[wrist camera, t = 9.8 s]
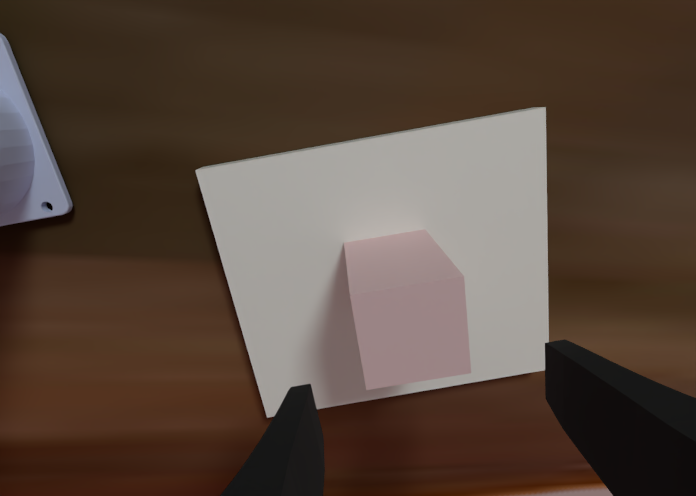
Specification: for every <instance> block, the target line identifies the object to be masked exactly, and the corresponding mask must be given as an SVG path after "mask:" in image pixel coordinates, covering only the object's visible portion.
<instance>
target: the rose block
mask: <svg viewBox="0 0 696 496" xmlns="http://www.w3.org/2000/svg"><path fill="white" fill-rule="evenodd" d="M344 248H345V257H346V266H347V275H348V284H349V293H350V299H351V305H352V311H353V316H354V322H355V328H356V334H357V339H358V345H359V351H360V356H361V362H362V368H363V374H364V379H365V385H366V390H371V389H377V388H383V387H389V386H395V385H401V384H407V383H414V382H420V381H426V380H432V379H438V378H444V377H450V376H457V375H463V374H469V373H471V364H470V350H469V336H468V323H467V309H466V295H465V282H464V275H463V274H462V273H461V272H460V271H459V269H458V268H457V267H456V266H455V265H454V263H453V262H452V261H451V260H450V259H449V257H448V256H447V255H446V254H445V253H444V251H443V250H442V249H441V248H440V246H439V245H438V244H437V243H436V242H435V240H434V239H433V238H432V237H431V236H430V234H429V233H428V232H427V231H426V230H425V229H423V230H417V231H411V232H405V233H399V234H393V235H387V236H381V237H375V238H369V239H363V240H357V241H351V242H345V243H344Z"/></svg>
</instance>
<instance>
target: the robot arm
mask: <svg viewBox="0 0 696 496" xmlns="http://www.w3.org/2000/svg"><path fill="white" fill-rule="evenodd" d="M47 202H49V203H51V205H52V207H53V210H50V209H48V207H47V204H46V203H47ZM72 207H73V205H72V201H71V198H70V196H69V193H68V191H67V188H66V186H65V183H64V181H63V178H62V176H61V173H60V171H59V168H58V166H57V163H56V161H55V158H54V155H53V153H52V150H51V148H50V145H49V143H48V140H47V138H46V135H45V133H44V130H43V128H42V125H41V123H40V120H39V118H38V115H37V113H36V110H35V108H34V105H33V103H32V100H31V98H30V95H29V93H28V90H27V88H26V85H25V83H24V80H23V78H22V75H21V73H20V70H19V67H18V65H17V62H16V60H15V57H14V55H13V52H12V50H11V47H10V45H9V42H8V41H7V39H6V37H4V36H3V35H2V34H1V33H0V226H4V225H9V224H15V223H21V222H26V221H32V220H37V219H43V218H49V217H54V216H60V215H64V214H66V213H69V212H70V211H71V210H72ZM545 386H546V400H547V402H548V404H549V405H550V407H551V409H552V411H553V412H554V414H555V416H556V418H557V419H558V421H559V423H560V424H561V426H562V428H563V429H564V431H565V432H566V434H567V435H568V436H569V438H570V439H571V440H572V442H573V443H574V444H575V446H576V447H577V448H578V450H579V451H580V452H581V454H582V455H583V456H584V458H585V459H586V460H587V462H588V463H589V464H590V466H591V467H592V468H593V470H594V471H595V472H596V473H597V475H598V476H599V477H600V479H601V480H602V481H603V483H604V484H605V485H606V487H607V488H608V489H609V491H610V492H611V493H612V494H613V496H696V398H694V397H691V396H689V395H686V394H683V393H681V392H678V391H676V390H674V389H671V388H669V387H667V386H664V385H662V384H659V383H657V382H655V381H652V380H650V379H648V378H646V377H643V376H641V375H639V374H637V373H635V372H633V371H630V370H628V369H626V368H624V367H622V366H620V365H618V364H616V363H614V362H611V361H609V360H607V359H605V358H603V357H601V356H599V355H597V354H595V353H593V352H591V351H589V350H587V349H585V348H583V347H580V346H578V345H576V344H574V343H572V342H569V341H567V340H560V341H554V342H548V343H545ZM324 472H325V467H324V441H323V433H322V429H321V425H320V421H319V417H318V412H317V408H316V404H315V400H314V396H313V392H312V387H311V384H305V385H300V386H294V387H291V388H290V389H289V390H288V392H287V394H286V396H285V398H284V400H283V402H282V403H281V405H280V407H279V409H278V411H277V413H276V414H275V416H274V418H273V420H272V421H271V423H270V425H269V427H268V428H267V430H266V432H265V433H264V435H263V437H262V438H261V440H260V441H259V443H258V445H257V446H256V447H255V449H254V450H253V452H252V453H251V455H250V456H249V458H248V459H247V461H246V462H245V464H244V465H243V467H242V468H241V469H240V471H239V472H238V473H237V475H236V476H235V477H234V479H233V480H232V481H231V483H230V484H229V485H228V486H227V488H226V489H225V490H224V491H223V493H222V494H221V495H220V496H323V487H324Z"/></svg>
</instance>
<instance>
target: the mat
mask: <svg viewBox="0 0 696 496" xmlns="http://www.w3.org/2000/svg"><path fill="white" fill-rule="evenodd" d="M195 171H196V175H197V178H198V182H199V185H200V188H201V192H202V195H203V199H204V202H205V206H206V209H207V213H208V216H209V219H210V223H211V226H212V230H213V233H214V237H215V240H216V244H217V247H218V250H219V254H220V257H221V261H222V264H223V268H224V271H225V275H226V278H227V281H228V285H229V288H230V292H231V295H232V299H233V302H234V306H235V309H236V312H237V316H238V319H239V323H240V326H241V330H242V333H243V336H244V340H245V343H246V347H247V350H248V354H249V357H250V361H251V364H252V367H253V371H254V374H255V378H256V381H257V385H258V388H259V392H260V395H261V398H262V402H263V405H264V409H265V412H266V416H267V418H269V417H274V416H275V414H276V413H277V411H278V409H279V407H280V405H281V403H282V402H283V400H284V398H285V396H286V394H287V392H288V390H289V389H290V388H291V387H294V386H300V385H305V384H311V387H312V392H313V396H314V400H315V404H316V408H317V409H321V408H327V407H333V406H339V405H345V404H350V403H356V402H362V401H368V400H374V399H380V398H385V397H391V396H397V395H403V394H409V393H415V392H420V391H426V390H432V389H438V388H444V387H450V386H455V385H461V384H467V383H473V382H479V381H485V380H490V379H496V378H502V377H508V376H514V375H520V374H525V373H531V372H537V371H543V370H545V343H548V342H549V323H548V245H547V168H546V107H538V108H528V109H523V110H517V111H511V112H506V113H500V114H495V115H489V116H484V117H478V118H473V119H467V120H461V121H456V122H450V123H445V124H439V125H434V126H428V127H423V128H417V129H411V130H406V131H400V132H395V133H389V134H384V135H378V136H372V137H367V138H361V139H356V140H350V141H345V142H339V143H334V144H328V145H322V146H317V147H311V148H306V149H300V150H295V151H289V152H284V153H278V154H272V155H267V156H261V157H256V158H250V159H245V160H239V161H233V162H228V163H222V164H217V165H211V166H206V167H202V168H199V169H197V170H195ZM423 229H425V230H426V231H427V232H428V233H429V234H430V236H431V237H432V238H433V239H434V240H435V242H436V243H437V244H438V245H439V246H440V248H441V249H442V250H443V251H444V253H445V254H446V255H447V256H448V257H449V259H450V260H451V261H452V262H453V263H454V265H455V266H456V267H457V268H458V269H459V271H460V272H461V273H462V274H463V275H464V282H465V295H466V309H467V323H468V336H469V350H470V364H471V373H469V374H463V375H457V376H450V377H444V378H438V379H432V380H426V381H420V382H414V383H407V384H401V385H395V386H389V387H383V388H377V389H371V390H366V385H365V379H364V374H363V368H362V362H361V356H360V351H359V345H358V339H357V334H356V328H355V322H354V316H353V311H352V305H351V299H350V293H349V284H348V275H347V266H346V257H345V248H344V243H345V242H351V241H357V240H363V239H369V238H375V237H381V236H387V235H393V234H399V233H405V232H411V231H417V230H423Z"/></svg>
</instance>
